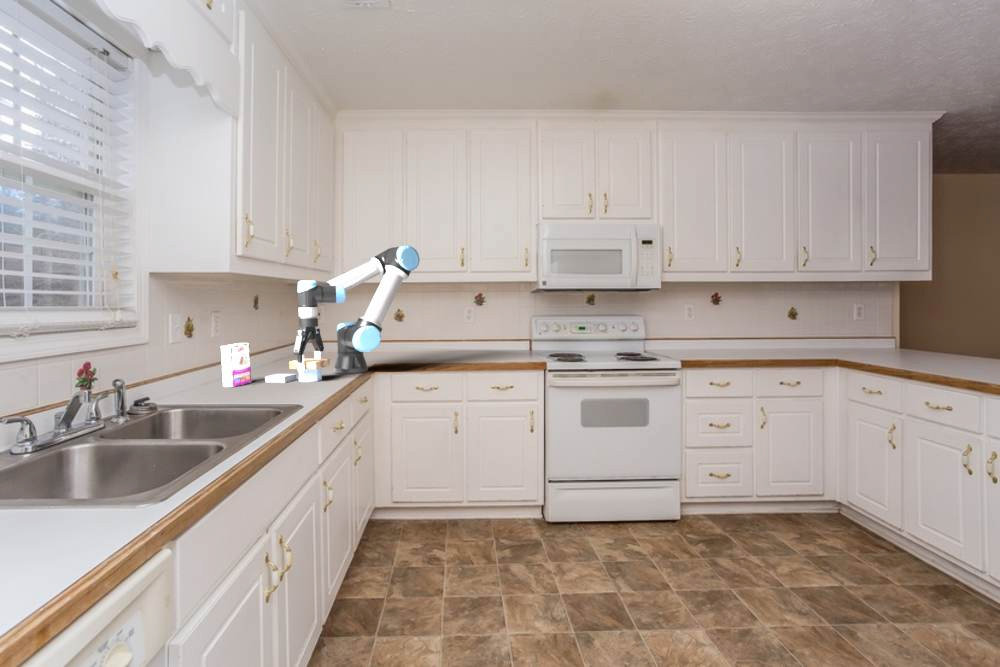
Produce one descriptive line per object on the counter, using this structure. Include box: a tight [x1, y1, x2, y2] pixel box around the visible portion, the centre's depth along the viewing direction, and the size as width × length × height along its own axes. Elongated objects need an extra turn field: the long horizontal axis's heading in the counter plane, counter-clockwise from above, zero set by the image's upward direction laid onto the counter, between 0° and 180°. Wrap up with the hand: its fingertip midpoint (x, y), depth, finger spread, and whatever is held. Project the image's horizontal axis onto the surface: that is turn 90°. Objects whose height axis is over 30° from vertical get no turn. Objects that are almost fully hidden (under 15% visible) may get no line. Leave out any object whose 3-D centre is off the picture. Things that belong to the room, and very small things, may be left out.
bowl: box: [297, 368, 323, 383], centre depth 212 cm, size 9×9×6 cm
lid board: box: [288, 358, 331, 370], centre depth 211 cm, size 11×12×3 cm
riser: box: [264, 373, 297, 384], centre depth 210 cm, size 8×9×2 cm
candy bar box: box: [220, 342, 252, 388], centre depth 201 cm, size 11×5×16 cm, turn 171°
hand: (309, 368), depth 212 cm, fingers open, 12 cm apart
